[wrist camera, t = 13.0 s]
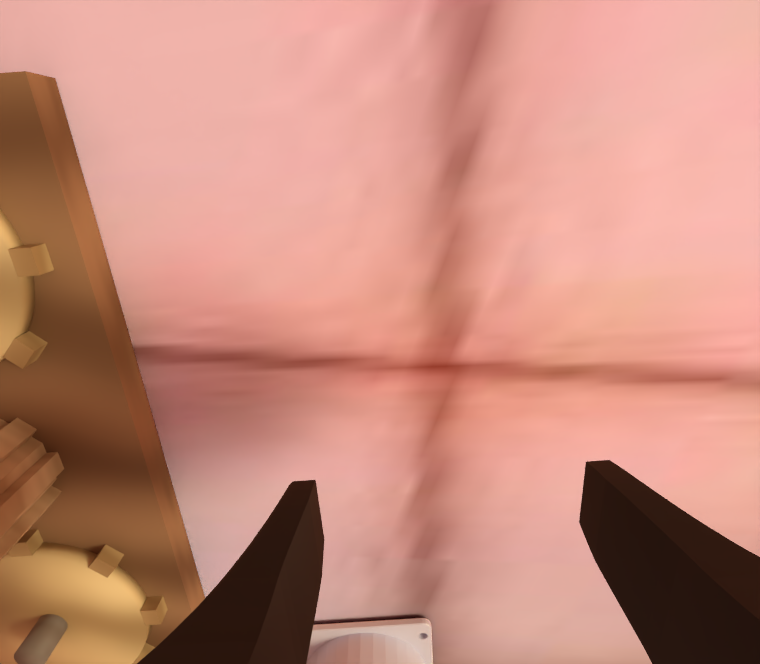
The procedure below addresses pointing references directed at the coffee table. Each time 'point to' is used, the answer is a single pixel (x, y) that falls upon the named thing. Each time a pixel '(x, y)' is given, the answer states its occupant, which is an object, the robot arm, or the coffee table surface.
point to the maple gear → (24, 481)
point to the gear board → (78, 417)
